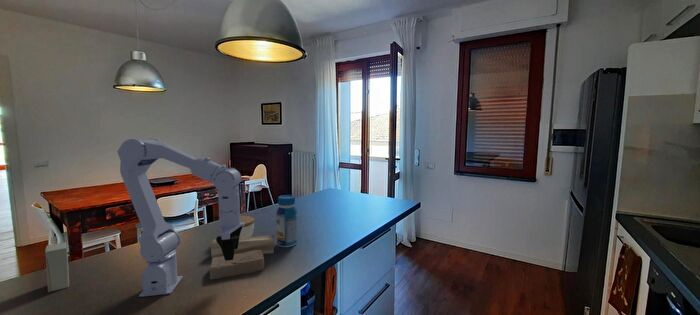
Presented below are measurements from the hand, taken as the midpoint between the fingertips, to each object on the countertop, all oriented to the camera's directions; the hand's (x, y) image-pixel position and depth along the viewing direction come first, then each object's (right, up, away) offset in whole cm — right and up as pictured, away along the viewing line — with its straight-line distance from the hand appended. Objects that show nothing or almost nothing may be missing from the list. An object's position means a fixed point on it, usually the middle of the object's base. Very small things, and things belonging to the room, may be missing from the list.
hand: (231, 254), depth 83 cm
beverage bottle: (+9, -7, +32) cm, 34 cm away
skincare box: (-51, -9, -1) cm, 52 cm away
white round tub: (-12, -7, +35) cm, 37 cm away
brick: (-2, -9, +10) cm, 14 cm away
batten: (-5, -8, +23) cm, 25 cm away
